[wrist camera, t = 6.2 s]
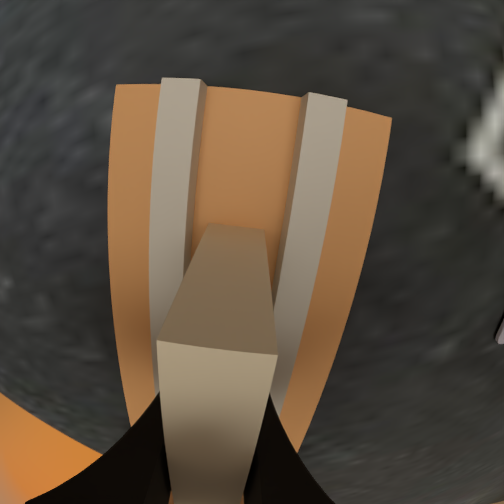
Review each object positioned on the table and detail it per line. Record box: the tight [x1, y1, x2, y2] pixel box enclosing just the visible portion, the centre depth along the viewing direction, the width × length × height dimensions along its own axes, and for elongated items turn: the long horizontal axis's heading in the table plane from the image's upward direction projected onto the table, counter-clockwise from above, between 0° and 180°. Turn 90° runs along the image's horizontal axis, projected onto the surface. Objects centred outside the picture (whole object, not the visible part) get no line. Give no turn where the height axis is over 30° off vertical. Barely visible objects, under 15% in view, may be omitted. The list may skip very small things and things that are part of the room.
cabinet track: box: [108, 78, 392, 504], centre depth 11 cm, size 10×20×7 cm, turn 173°
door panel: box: [157, 223, 278, 504], centre depth 10 cm, size 2×10×7 cm, turn 173°
